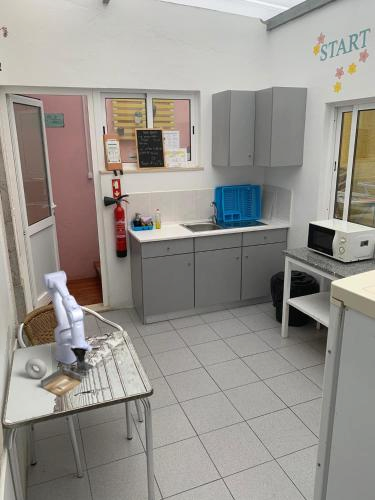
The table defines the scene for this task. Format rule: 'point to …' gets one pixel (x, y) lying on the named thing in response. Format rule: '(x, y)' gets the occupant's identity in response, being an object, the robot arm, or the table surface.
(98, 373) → the table surface
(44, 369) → the donut
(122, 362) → the table surface
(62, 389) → the tray
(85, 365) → the bracket
